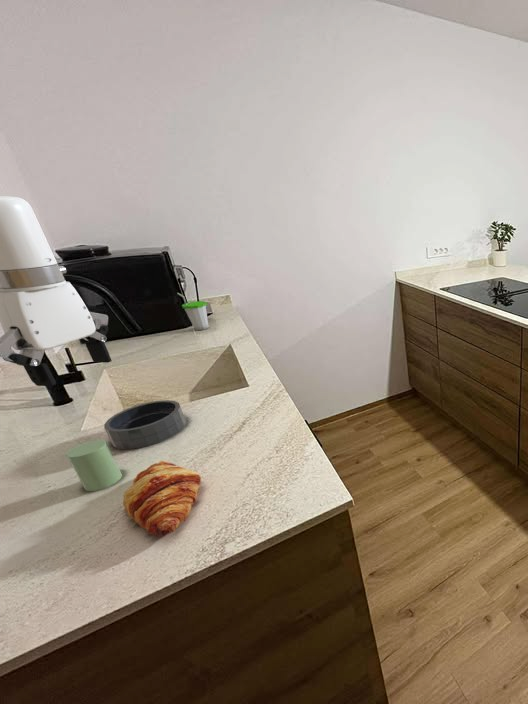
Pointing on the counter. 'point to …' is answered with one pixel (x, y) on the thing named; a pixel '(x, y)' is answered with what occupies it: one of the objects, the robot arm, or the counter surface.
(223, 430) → the counter surface
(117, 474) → the mint green cylinder
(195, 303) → the cup
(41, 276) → the robot arm
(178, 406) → the basin
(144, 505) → the croissant
